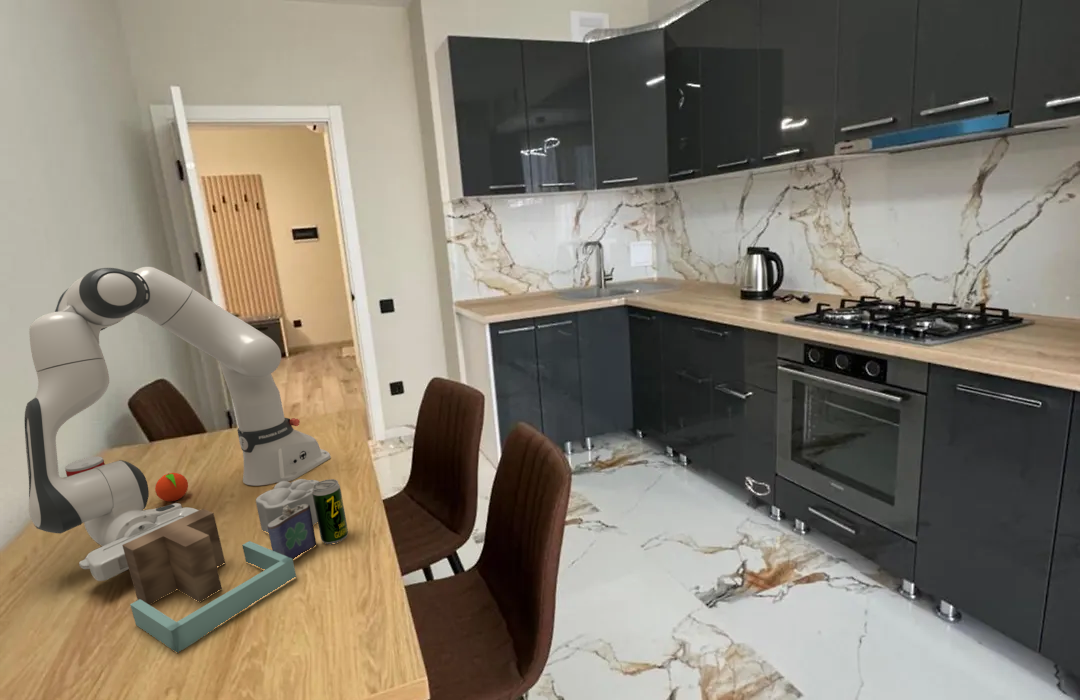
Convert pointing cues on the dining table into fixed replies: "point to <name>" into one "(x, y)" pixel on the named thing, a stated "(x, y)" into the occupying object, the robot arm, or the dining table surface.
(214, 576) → the t block
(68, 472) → the canned food
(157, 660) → the dining table surface
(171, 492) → the clementine
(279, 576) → the fence
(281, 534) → the flask
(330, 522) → the beer can
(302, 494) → the grey bumpy block
